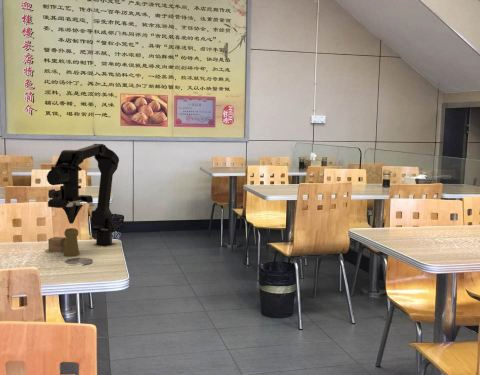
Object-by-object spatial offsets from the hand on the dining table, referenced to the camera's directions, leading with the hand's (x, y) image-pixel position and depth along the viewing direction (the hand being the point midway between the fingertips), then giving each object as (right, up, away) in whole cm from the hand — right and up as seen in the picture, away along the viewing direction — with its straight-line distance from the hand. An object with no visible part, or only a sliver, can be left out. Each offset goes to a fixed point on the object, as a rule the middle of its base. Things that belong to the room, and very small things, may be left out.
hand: (71, 223), depth 205 cm
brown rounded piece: (0, -13, +1) cm, 13 cm away
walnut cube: (-8, -11, +8) cm, 16 cm away
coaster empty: (+5, -14, -8) cm, 17 cm away
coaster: (-8, -12, +8) cm, 17 cm away
